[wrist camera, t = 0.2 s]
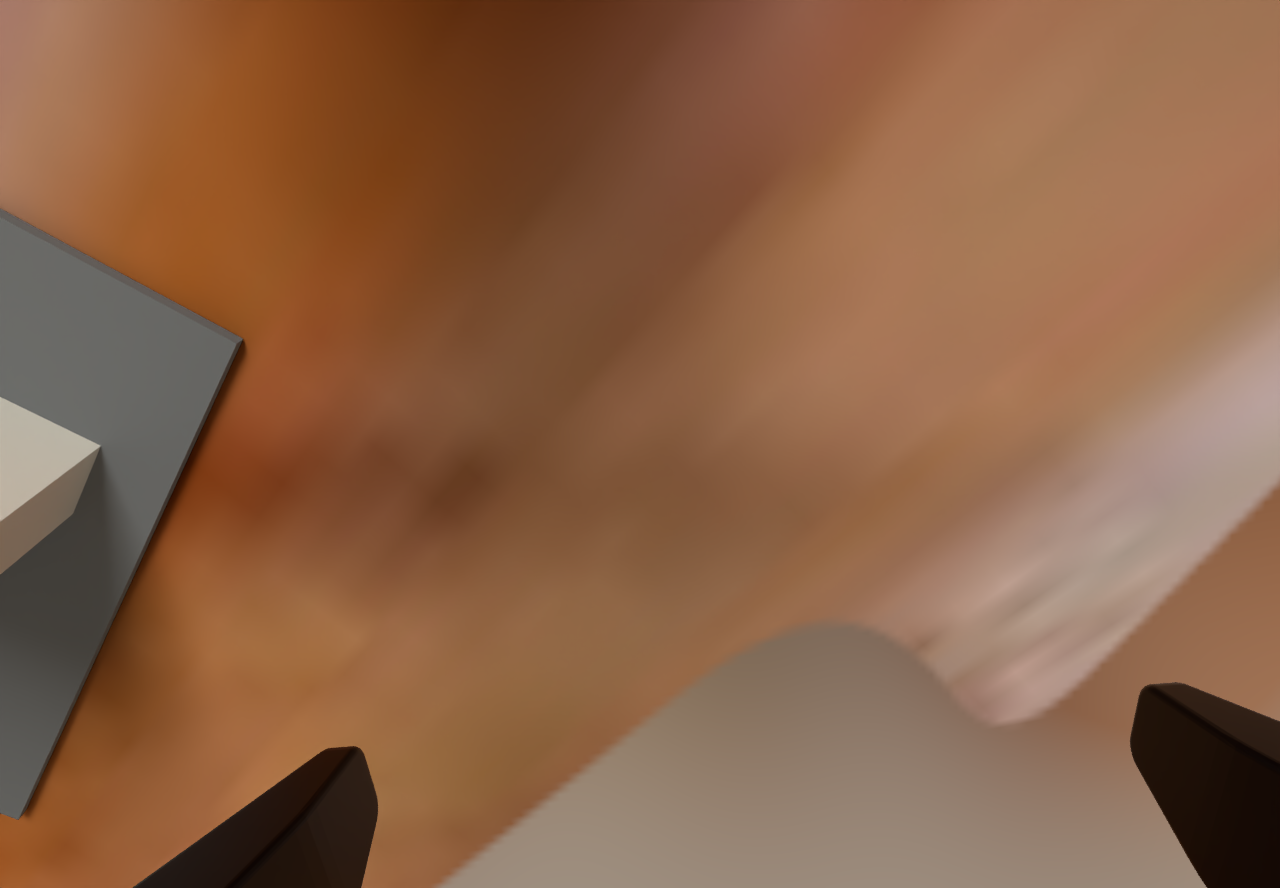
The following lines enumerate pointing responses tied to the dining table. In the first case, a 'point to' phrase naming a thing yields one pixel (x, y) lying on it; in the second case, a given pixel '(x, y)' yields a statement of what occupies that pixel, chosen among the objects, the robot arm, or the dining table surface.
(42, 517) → the tile
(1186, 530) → the dining table surface
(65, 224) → the dining table surface
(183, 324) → the mat
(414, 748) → the dining table surface
